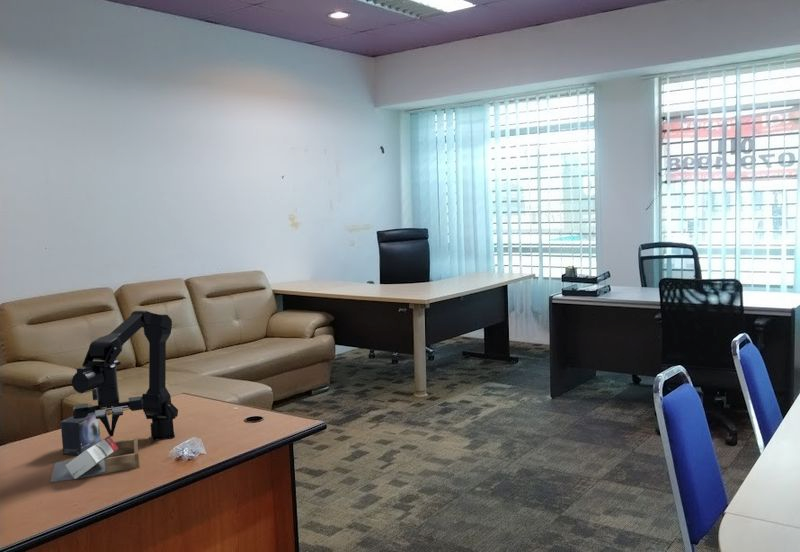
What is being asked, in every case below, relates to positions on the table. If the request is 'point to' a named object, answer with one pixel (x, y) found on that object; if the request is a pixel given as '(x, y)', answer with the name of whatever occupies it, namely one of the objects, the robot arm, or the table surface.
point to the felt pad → (63, 474)
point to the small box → (79, 434)
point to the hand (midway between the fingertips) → (111, 436)
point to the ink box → (91, 457)
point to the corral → (123, 456)
